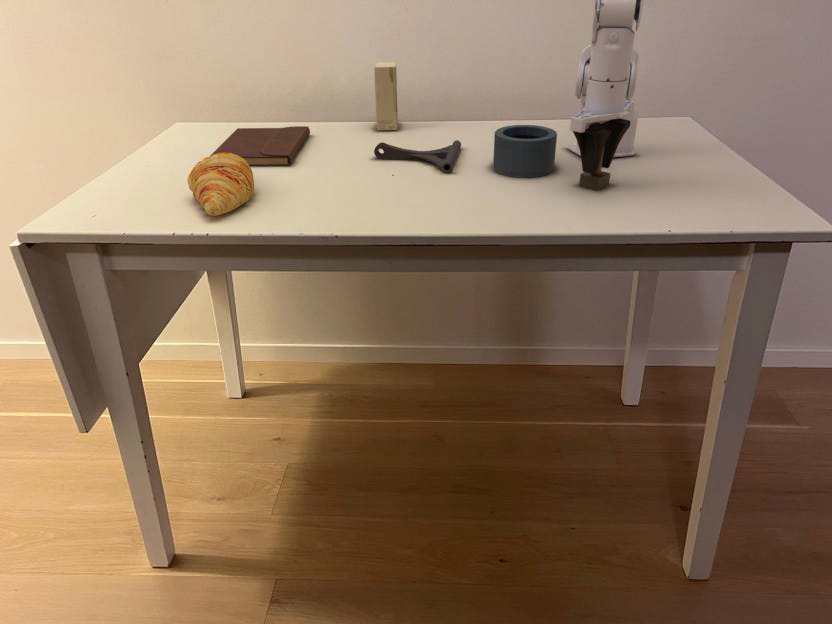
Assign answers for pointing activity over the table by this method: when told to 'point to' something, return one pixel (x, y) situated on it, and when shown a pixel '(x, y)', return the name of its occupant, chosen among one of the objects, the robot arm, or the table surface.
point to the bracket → (421, 154)
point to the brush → (595, 178)
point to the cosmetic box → (386, 95)
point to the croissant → (221, 182)
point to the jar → (524, 150)
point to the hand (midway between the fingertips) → (596, 169)
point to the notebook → (266, 145)
